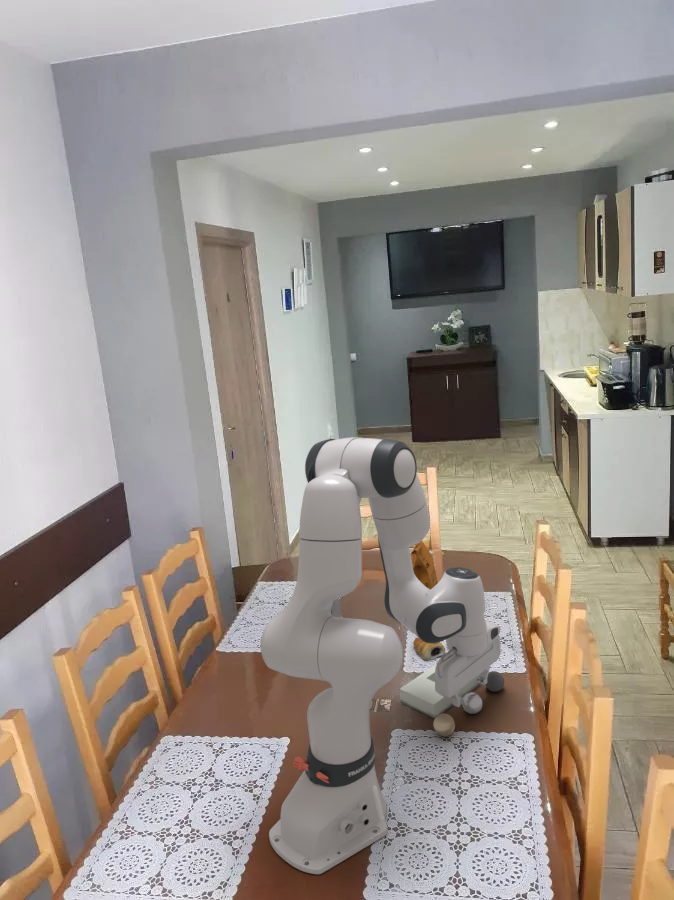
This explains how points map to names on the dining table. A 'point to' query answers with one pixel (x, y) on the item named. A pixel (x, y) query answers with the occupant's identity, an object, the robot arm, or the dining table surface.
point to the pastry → (428, 649)
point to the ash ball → (444, 724)
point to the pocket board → (429, 694)
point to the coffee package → (423, 565)
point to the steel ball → (472, 703)
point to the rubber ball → (495, 681)
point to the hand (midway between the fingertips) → (470, 694)
